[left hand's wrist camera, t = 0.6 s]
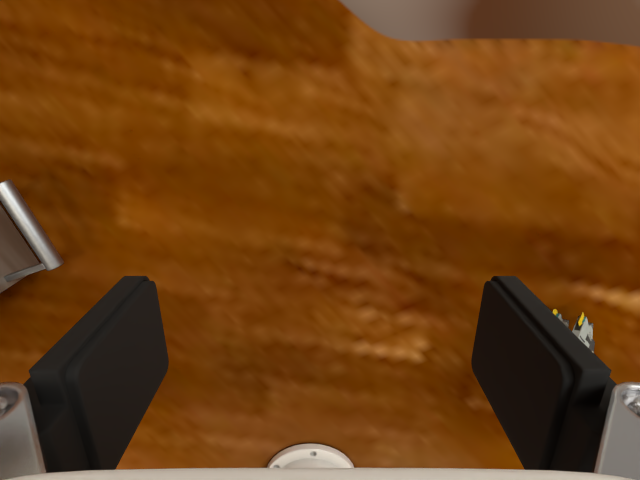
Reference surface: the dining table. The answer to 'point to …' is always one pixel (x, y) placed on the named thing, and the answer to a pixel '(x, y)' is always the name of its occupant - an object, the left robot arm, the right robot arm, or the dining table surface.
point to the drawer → (21, 240)
